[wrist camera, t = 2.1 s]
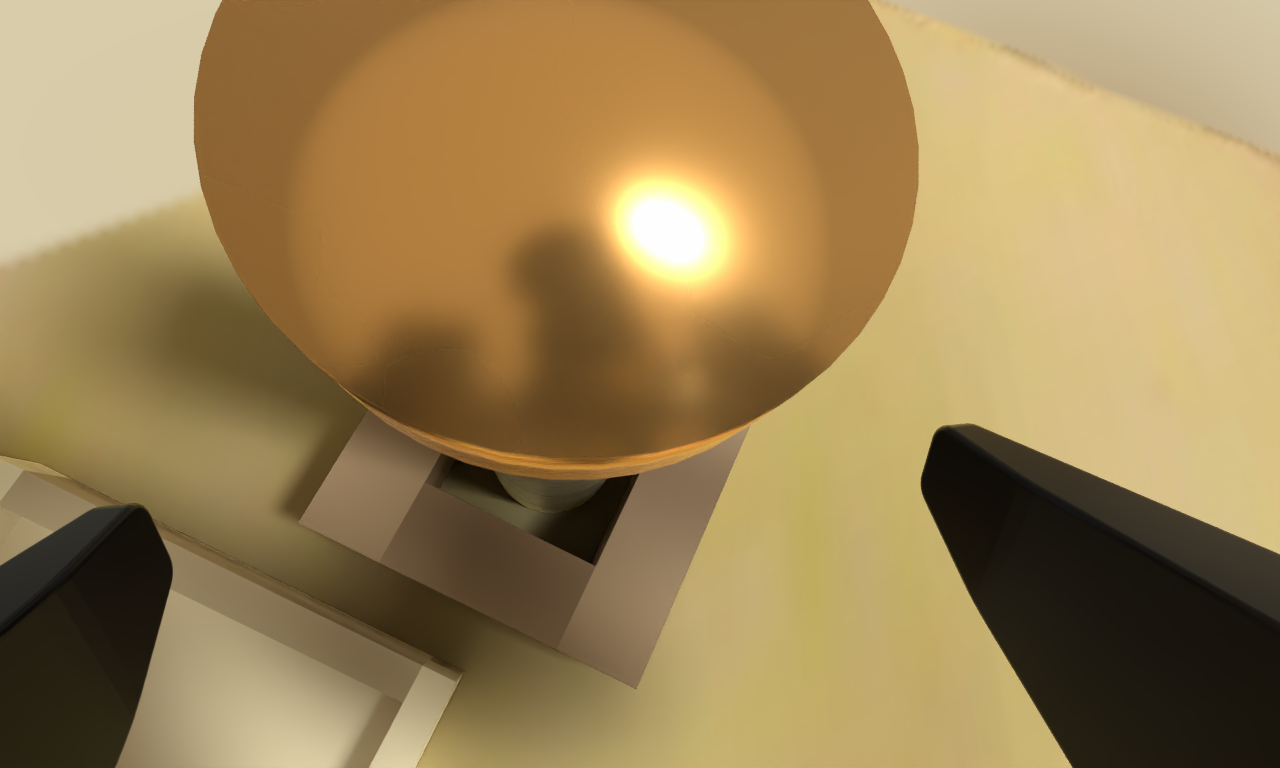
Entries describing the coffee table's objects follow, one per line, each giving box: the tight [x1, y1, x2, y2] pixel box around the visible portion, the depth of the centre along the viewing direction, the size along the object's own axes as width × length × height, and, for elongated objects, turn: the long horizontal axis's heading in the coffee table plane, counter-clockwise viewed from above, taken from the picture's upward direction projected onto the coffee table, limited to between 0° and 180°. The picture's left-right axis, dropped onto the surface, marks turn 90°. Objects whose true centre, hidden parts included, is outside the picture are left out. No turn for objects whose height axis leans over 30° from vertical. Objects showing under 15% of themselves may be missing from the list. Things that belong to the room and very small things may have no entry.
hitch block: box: [298, 409, 750, 689], centre depth 17 cm, size 8×8×2 cm
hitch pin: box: [194, 0, 918, 513], centre depth 11 cm, size 4×4×14 cm
